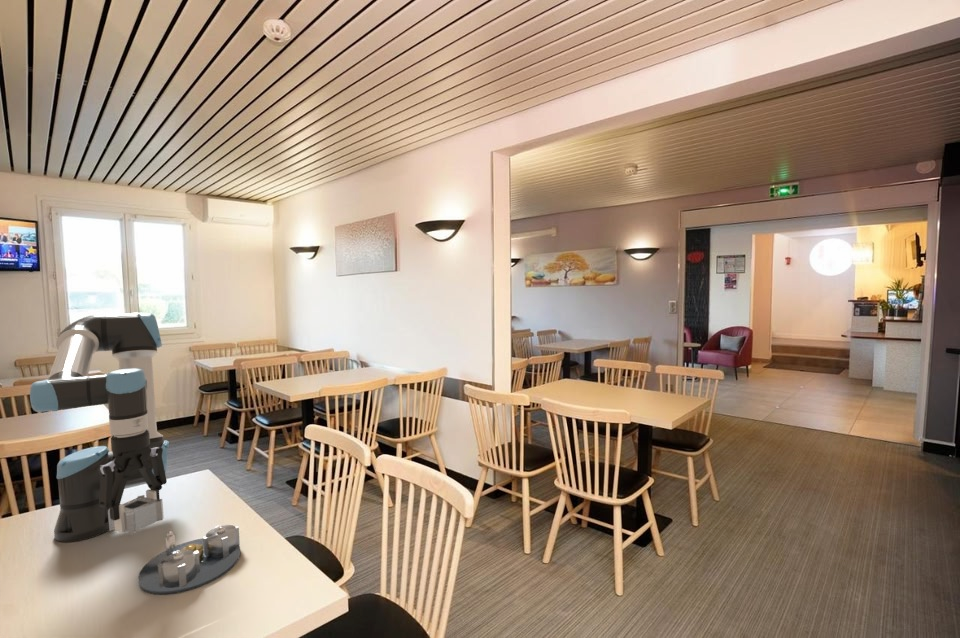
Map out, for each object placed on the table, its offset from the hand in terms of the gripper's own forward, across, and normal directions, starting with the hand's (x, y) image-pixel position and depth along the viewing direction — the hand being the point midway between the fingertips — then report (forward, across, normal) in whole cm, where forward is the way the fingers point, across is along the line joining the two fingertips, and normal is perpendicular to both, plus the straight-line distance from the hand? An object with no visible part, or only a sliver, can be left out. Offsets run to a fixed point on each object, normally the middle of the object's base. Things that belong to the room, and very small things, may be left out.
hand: (137, 522), depth 113 cm
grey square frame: (0, 0, 0) cm, 0 cm away
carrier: (+13, +6, -9) cm, 17 cm away
